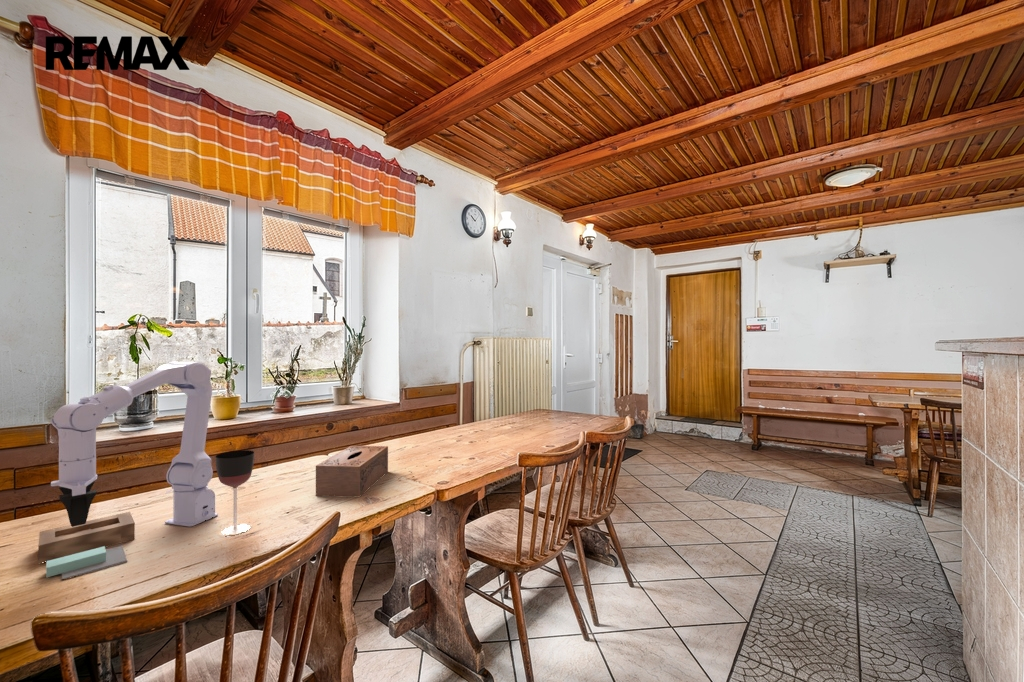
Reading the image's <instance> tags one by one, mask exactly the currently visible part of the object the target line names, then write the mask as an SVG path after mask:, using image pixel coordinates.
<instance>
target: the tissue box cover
mask: <svg viewBox="0 0 1024 682" xmlns="http://www.w3.org/2000/svg"><path fill="white" fill-rule="evenodd" d="M388 472H389V446H388V445H387V446H386V445H384V446H383V445H380V446H379V445H350V446H348V447H346V448H345V449H343V450H341V451H339V452H338V453H336V454H334V455H332V456H331V457H329V458H327V459H326V460H323V461H321V462H320V463H318V464H316V465H315V497H336V496H360V495H361V496H362V495H363V494H365V493H366V492H367V491H368V490H369V489H370V488H371V487H373V486H374V485H375V484H376V483H377V482H378V481H379V480H381V479H382V478H383V477H384V476H385V475H386V474H388ZM384 474H385V475H384ZM383 475H384V476H383ZM382 476H383V477H382ZM381 477H382V478H381ZM377 480H378V481H377ZM376 481H377V482H376ZM375 482H376V483H375ZM374 483H375V484H374ZM373 484H374V485H373ZM372 485H373V486H372ZM369 487H370V488H369ZM368 488H369V489H368ZM367 489H368V490H367ZM366 490H367V491H366ZM365 491H366V492H365ZM364 492H365V493H364ZM361 496H360V497H361Z"/></svg>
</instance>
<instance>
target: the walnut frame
mask: <svg viewBox="0 0 1024 682" xmlns="http://www.w3.org/2000/svg"><path fill="white" fill-rule="evenodd" d="M135 527H136V524H135V520H134V518H133V515H132V513H131V511H128V512H122V513H118V514H114V515H109V516H104V517H100V518H95V519H91V520H86V523H85V524H82V525H78V526H74V527H72V526H71V524H68V525H64V526H59V527H55V528H50V529H46V530H42V531H39V535H38V554H37V555H38V561H37V563H38V565H40V564H39V563H42V562H45V561H49V560H53V559H57V558H61V557H65V556H69V555H73V554H76V553H80V552H84V551H88V550H92V549H96V548H100V547H103V546H105V548H106V546H108V547H110V546H115V545H119V544H122V542H123V543H126V542H130V540H131V541H133V540H134V539H136V537H135V535H136V534H135V533H136V529H135ZM114 544H115V545H114ZM42 564H43V563H42Z"/></svg>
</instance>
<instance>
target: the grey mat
mask: <svg viewBox="0 0 1024 682" xmlns="http://www.w3.org/2000/svg"><path fill="white" fill-rule="evenodd" d="M126 555H127V554H126V553H125V549H124V547H123V545H118V546H115V547H111V548H107V549H106V561H104V562H101V563H97V564H93V565H90V566H86V567H83V568H79V569H76V570H72V571H68V572H65V573H61V580H62V579H66V580H68V579H67V578H69V579H71V578H70V577H73V578H75V577H74V576H76V577H79V576H78V575H80V576H83V575H86V573H87V574H89V573H93V572H96V571H97V572H98V571H100V570H104V569H107V568H111V567H114V566H117V565H120V564H121V565H122V564H124V563H128V560H127V556H126ZM82 574H83V575H82Z"/></svg>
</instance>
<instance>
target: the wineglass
mask: <svg viewBox="0 0 1024 682" xmlns="http://www.w3.org/2000/svg"><path fill="white" fill-rule="evenodd" d="M254 460H255V451H253V450H247V449H246V450H245V449H242V450H241V449H240V450H239V449H238V450H231V451H230V450H229V451H225V452H222V453H218V454H216V455H215V467H216V468H215V469H216V474H217V478H218V481H219V482H220V483H221V484H222V485H225V486H227V487H230V488H232V489H233V492H232V493H233V496H232V497H233V500H232V502H233V505H232V506H233V508H232V510H233V516H232V517H233V521H232V522H233V524H232V525H233V526H232V525H229V526H230V527H228V526H227V527H228V528H226V527H224V528H225V529H224V530H223V531H221V533H222V534H223V535H224V534H226V535H229V534H235V533H236V534H238V533H241V532H245V533H246V531H247V530H248V531H250V530H251V529H252V528H251V527H250V525H251V524H250V525H247V524H248V523H239V524H240V525H237V524H238V487H239V486H241V485H244V484H245V483H246V482H247V481H249V480H250V478H251V476H252V473H253V468H254V463H255V461H254ZM250 528H251V529H250ZM249 529H250V530H249ZM248 531H247V532H248Z"/></svg>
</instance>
